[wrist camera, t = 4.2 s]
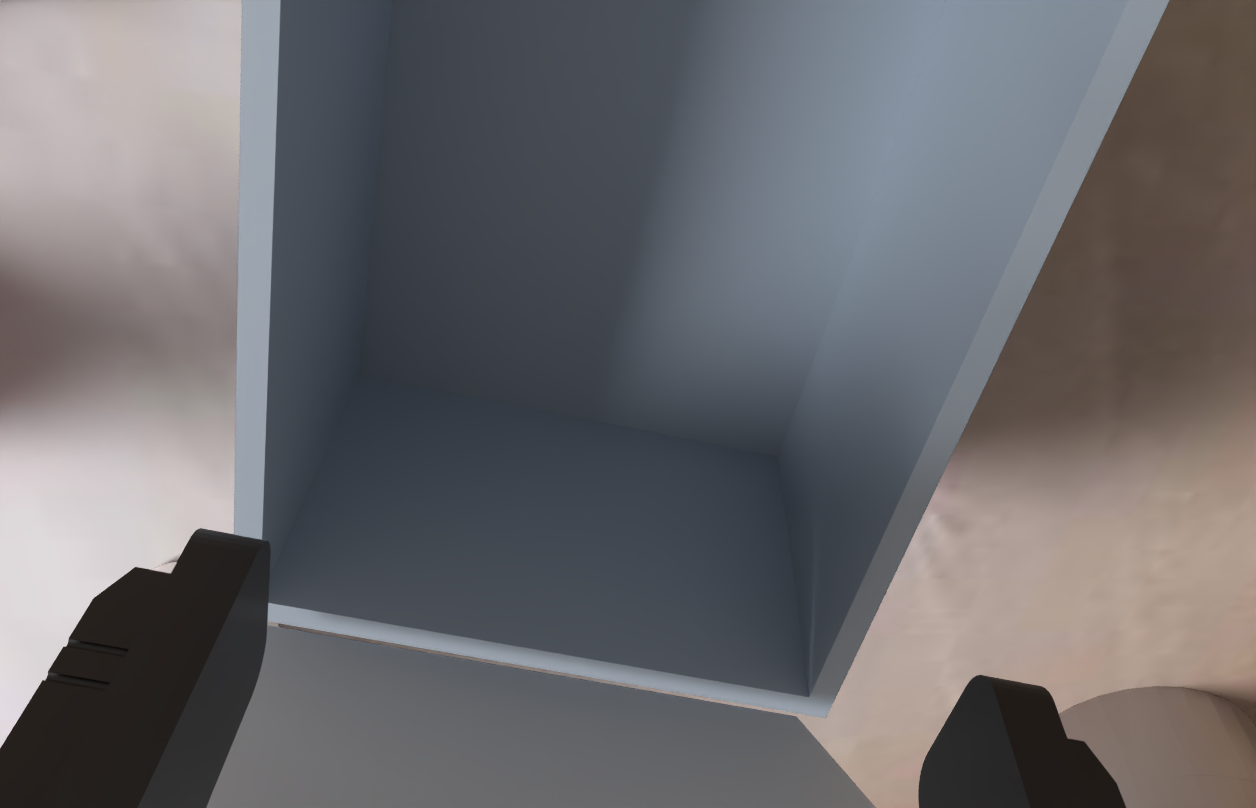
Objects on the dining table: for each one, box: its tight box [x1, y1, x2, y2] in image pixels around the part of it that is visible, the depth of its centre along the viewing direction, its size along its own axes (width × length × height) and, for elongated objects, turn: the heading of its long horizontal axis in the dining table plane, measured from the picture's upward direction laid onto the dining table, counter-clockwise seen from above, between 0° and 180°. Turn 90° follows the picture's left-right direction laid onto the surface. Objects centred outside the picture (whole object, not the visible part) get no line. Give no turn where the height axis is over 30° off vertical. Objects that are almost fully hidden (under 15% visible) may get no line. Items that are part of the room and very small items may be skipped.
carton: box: [234, 0, 1169, 718], centre depth 23 cm, size 14×26×10 cm, turn 168°
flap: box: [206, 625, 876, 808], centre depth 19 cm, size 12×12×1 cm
